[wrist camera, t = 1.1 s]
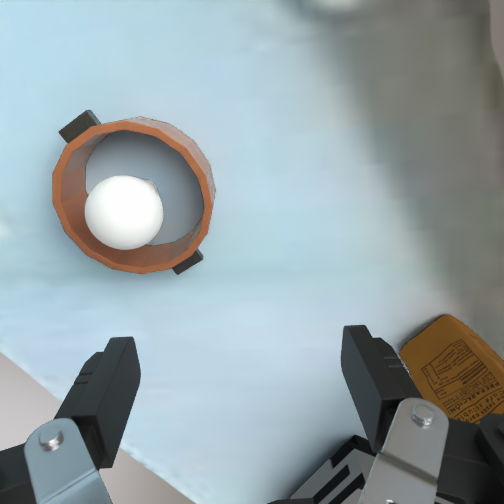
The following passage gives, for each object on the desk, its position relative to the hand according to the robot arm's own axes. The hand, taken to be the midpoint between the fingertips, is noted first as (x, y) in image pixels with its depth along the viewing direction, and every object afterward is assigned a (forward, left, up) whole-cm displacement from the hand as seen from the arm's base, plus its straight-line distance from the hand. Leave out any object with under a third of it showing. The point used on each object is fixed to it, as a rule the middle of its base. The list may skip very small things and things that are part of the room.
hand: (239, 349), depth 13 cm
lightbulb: (-5, -8, -26) cm, 27 cm away
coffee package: (+34, +11, -26) cm, 44 cm away
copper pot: (-5, -8, -25) cm, 27 cm away
